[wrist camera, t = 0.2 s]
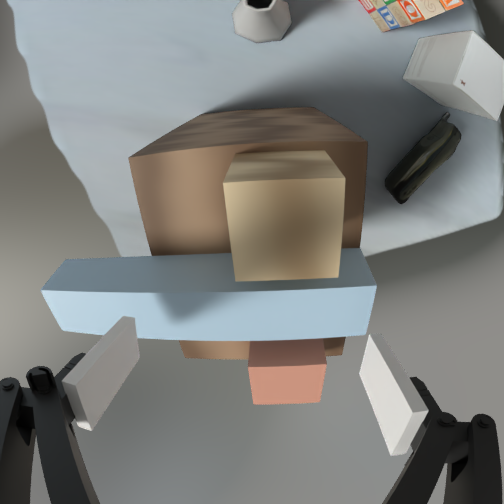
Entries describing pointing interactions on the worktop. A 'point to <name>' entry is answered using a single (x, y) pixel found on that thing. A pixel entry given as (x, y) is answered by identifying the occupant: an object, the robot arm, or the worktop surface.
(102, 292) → the blue bar
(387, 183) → the mobile phone
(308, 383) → the brick cube
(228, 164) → the walnut stand
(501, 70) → the supplement box
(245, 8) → the flask
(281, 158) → the oak cube
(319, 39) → the worktop surface
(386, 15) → the stack of blocks
